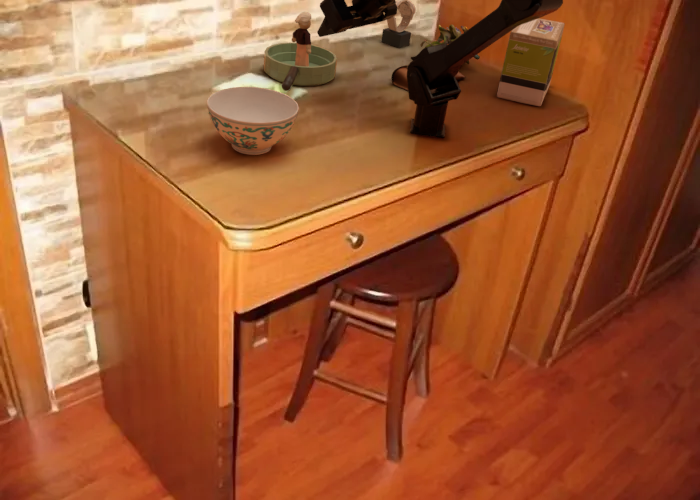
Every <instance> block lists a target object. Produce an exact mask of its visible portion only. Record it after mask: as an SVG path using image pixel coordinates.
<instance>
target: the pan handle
mask: <svg viewBox="0 0 700 500" xmlns="http://www.w3.org/2000/svg"><path fill="white" fill-rule="evenodd" d="M298 72H299V69H298V68H297V67H296V66H292V67H291V68H290V70H289V72H288V74H287V76H286V78H285V80H284V81H283V82H281V90H283V91H285V92H289V91H290V90H291V88H292V87H293V86H294V85H293V83H294V80H295V78H296V76H297V74H298Z"/></svg>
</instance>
